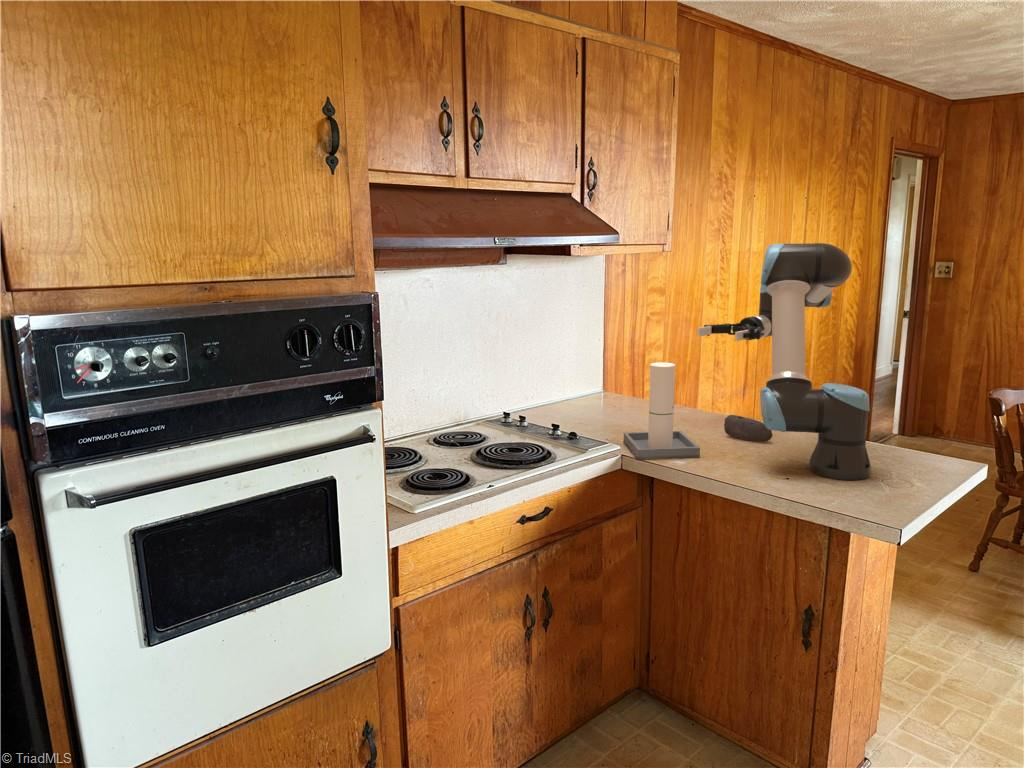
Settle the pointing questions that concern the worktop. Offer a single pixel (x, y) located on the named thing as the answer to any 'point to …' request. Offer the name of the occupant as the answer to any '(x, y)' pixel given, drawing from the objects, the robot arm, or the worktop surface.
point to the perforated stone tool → (746, 429)
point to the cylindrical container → (661, 405)
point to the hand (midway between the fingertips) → (716, 334)
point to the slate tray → (680, 448)
